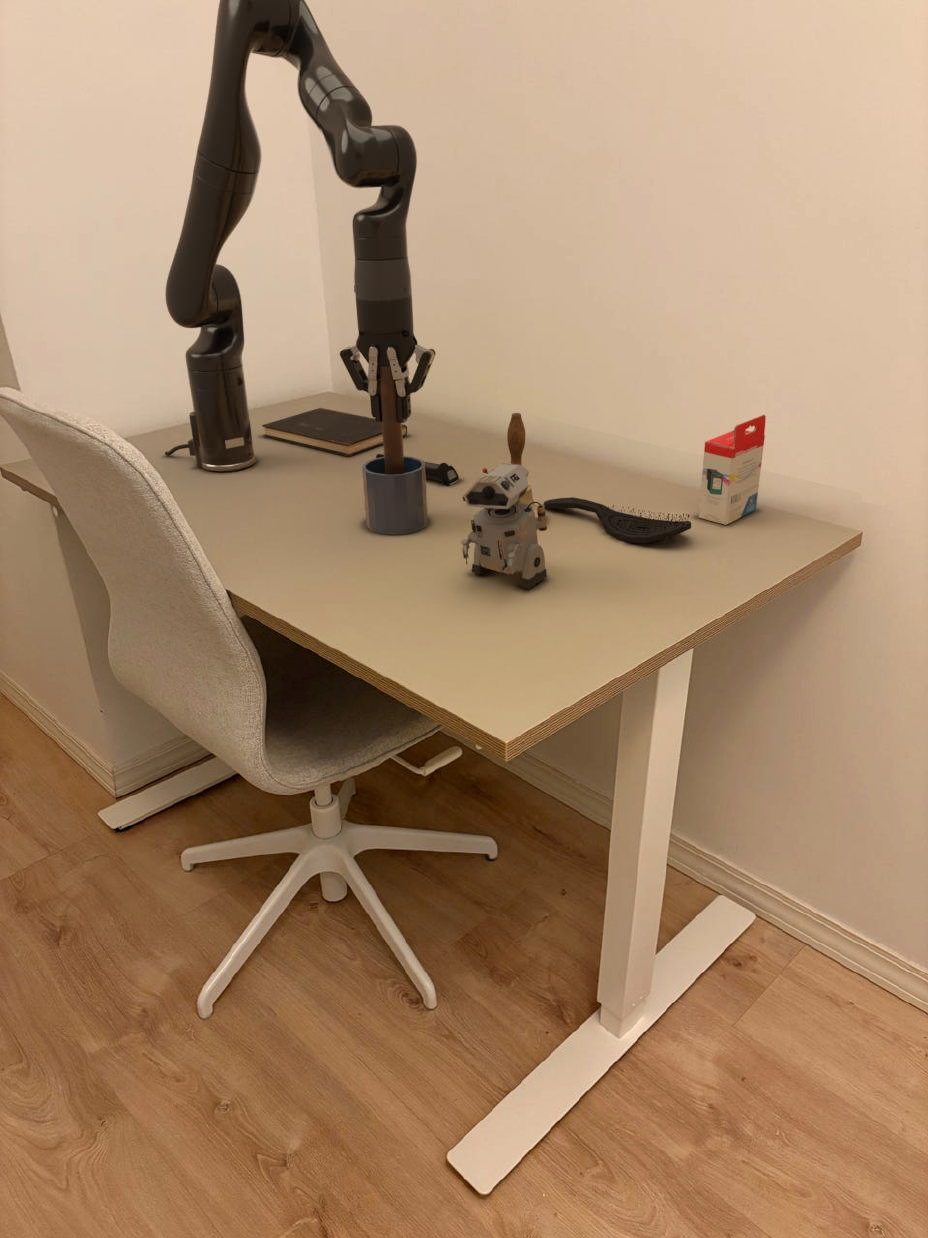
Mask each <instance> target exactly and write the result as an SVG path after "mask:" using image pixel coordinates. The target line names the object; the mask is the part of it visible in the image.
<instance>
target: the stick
mask: <svg viewBox="0 0 928 1238" xmlns="http://www.w3.org/2000/svg"><path fill="white" fill-rule="evenodd" d="M378 373H379V388H380V403H381V417H382V432H383V445H382V446H383V447H382V448H383V455H384V461H385V474H402V473H405V470H404V456H405V455H404V453H405V452H404V437H403V436H402V424H403V423H399V422H398V411H397V397H398V396H399V395H398V393H397V389H396V384H395V381H394V380H393V376H392V371H391V366H383V365H380V366H379V371H378Z"/></svg>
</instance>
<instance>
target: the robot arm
mask: <svg viewBox="0 0 928 1238" xmlns="http://www.w3.org/2000/svg"><path fill="white" fill-rule="evenodd" d="M215 24H216V25H215V34H214V42H213V52H212V53H213V54H212V64H211V73H210V80H209V87H208V93H207V100H206V105H205V111H204V116H203V121H202V127H201V131H200V136H199V139H198V140H199V141H198V144H197V149H196V153H195V160H194V165H193V171H192V177H191V183H190V184H191V185H190V190H189V195H188V199H187V203H186V209H185V213H184V218H183V222H182V227H181V232H180V234H179V239H178V242H177V245H176V249H175V252H174V255H173V258H172V262H171V264H170V268H169V271H168V274H167V278H166V284H165V294H164V295H165V296H164V297H165V298H164V299H165V305H166V308H167V312H168V314H169V316H170V318H171V319H172V321H174V323H175V324H177V325H178V326H179V327H182V328H185V329H200V330H199V334H198V337H197V339H196V340H194V342H193V343H192V344H191V345H190V346H189V347H188V348H187V350H186V352H185V354H184V355H185V357H184V358H185V364H186V365H185V366H186V369H187V370H186V371H187V377H188V384H189V389H190V396H191V397H190V398H191V403H192V410H193V411H192V412H190V413H189V417H188V418H189V424H190V430H191V437H192V438H191V439H190V440H188V441H187V443H184V444H179V445H176V446H174V447H172V448H171V449H170V450H168V451H167V450H166V451H165V452H164V455H165V456H166V457H167V456H172V455H173V454H174V453H176V452H177V451H180V450H183V449H188V451H189V456H191V457H195V462H196V467H197V468H202V469H204V470H206V471H211V472H233V471H239V470H244V469H247V468H249V467H251V466H253V465H254V464H255V463H256V455H255V450H254V442H253V435H252V427H251V425H252V424H251V419H250V410H249V402H248V396H247V388H246V386H247V385H246V379H245V371H244V364H243V352H244V348H245V327H244V315H243V301H242V295H241V292H240V291H241V290H240V287H239V284H238V281H237V279H236V278H235V276H234V274H233V273H232V272H231V271H230V269H228V268H227V266H224V265H222V264H218V263H217V262H218V259H219V256H220V254H221V251H222V249H223V247H224V245H225V244H226V242H227V240H228V239H229V237H230V236H231V234H233V232H234V230H235V229H236V228H237V226H238V225H239V224H240V222H241V221H242V219H243V218H244V216H245V214H246V213H247V211H248V209H249V208H250V205H251V203H252V201H253V198H254V194H255V191H256V187H257V182H258V178H259V174H260V170H261V165H262V155H263V154H262V145H261V142H260V138H259V134H258V131H257V129H256V125H255V122H254V119H253V116H252V113H251V109H250V107H249V103H248V98H247V90H246V88H247V87H246V86H247V85H246V84H247V70H248V65H249V60H250V56H251V54H254V55H259V56H264V57H268V58H274V59H283V60H285V61H286V62H287V63H288V64H290V65H291V66H292V67H293V68H294V69H296V71H297V72H298V73H297V81H296V88H297V95H298V98H299V101H300V104H301V106H302V108H303V110H304V112H305V113H306V115H307V116H308V118H310V120H311V121H312V123H313V124H314V125H315V127H316V128H317V130H318V131H319V132H320V133H321V134H322V136H323V139H324V141H325V144H326V149H327V150H328V153H329V156H330V159H331V164H332V168H333V170H334V173H335V175H336V176H337V178H338V179H339V180H340V181H341V182H342V183H344V185H346V186H349V187H350V188H354V189H369V188H370V189H372V188H380V189H379V193H378V196H377V198H376V201H375V202H374V203H373V204H372V205H370V206H368V207H365V208H361V209H360V210H357V211H356V212H355V213H354V214H353V217H352V221H351V227H352V242H353V255H354V269H353V280H354V281H353V282H354V285H353V291H354V294H355V295H354V296H355V309H356V322H357V330H358V336H357V339H356V341H355V344H354V345H351V346H347V347H345V348H343V349H342V350H340V351H339V357H340V359H341V361H342V363H343V364H344V367H345V368H346V370H347V372H348V374H349V377H350V379H351V381H352V382H353V384H354V387H355V389H356V390H357V391H360V392H361V391H363V392H366V393H367V394H368V395H369V399H370V400H369V401H370V413H371V416H372V418H374V419H375V420H376V422H382V417H381V403H380V388H379V373H378V371H379V366H380V365H383V366H391V371H392V376H393V380H394V381H395V384H396V389H397V393H398V395H399V396H398V397H397V411H398V422H399V423H402V424H404V423H406V422H407V421H408V419H409V418H410V417H411V415H412V402H411V394H415V393H417V392H418V391H420V390H421V389H422V388H423V387H424V384H425V382H426V380H427V377H428V374H429V372H430V369H431V367H432V365H433V362H434V359H435V357H436V353H437V352H436V351H435V349H434V348H428V349H427V348H425V347H424V346H422V345H420V344H419V343H418V340H417V337H416V336H415V333H414V312H413V311H414V309H413V291H412V274H411V267H410V261H409V257H408V256H409V254H408V252H409V251H408V235H407V234H408V231H407V222H408V217H409V211H410V205H411V201H412V200H411V199H412V194H413V189H414V184H415V180H416V174H417V167H418V153H417V149H416V144H415V142H414V139H413V137H412V135H411V134H410V133H409V131H408V130H407V129H406V128H404V127H403V126H401V125H395V124H383V125H382V124H381V125H373V112H372V109H371V106H370V104H369V103H368V101H367V99H366V98H365V97H364V95H363V94H362V93H361V91H360V90H359V89H358V88H357V86H356V85H355V84H354V82H352V80H351V79H350V78H349V76H348V75H347V74H346V73H345V71H344V70H343V69H342V68H341V66H340V65H339V63H338V61H337V60H336V59H335V57H334V55H333V53H332V51H331V50H330V47H329V45H328V43H327V42H326V39H325V37H324V35H323V33H322V31H321V30H320V27H319V26H318V24H317V21H316V20H315V17H314V15H313V13H312V11H311V9H310V7H309V5H308V4H307V2H306V0H219V3H218V9H217V16H216V23H215ZM414 354H415V362H416V363H417V366H416V369H415V372H414V374H413V377H412V379H411V380H410V369H409V365H408V363H409V361H410V359H411V358H412V357H413V356H414ZM361 355H362V357H363V358H364V360H365V361H366V362H367V364H368V370H367V372H366V371H365V369H364V367H363V365H362V363H361V361H360V359H361Z"/></svg>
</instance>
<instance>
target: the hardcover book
mask: <svg viewBox="0 0 928 1238" xmlns="http://www.w3.org/2000/svg"><path fill="white" fill-rule="evenodd" d="M261 427H262V428H264V432H265V434H263V435H262V437H264V438H268V439H272V440H275V441H281V442H285V443H289V444H292V445H297V446H300V447H301V446H302V447H306V448H310V449H314V450H319V451H323V452H328V453H330V454H331V453H332V454H336V455H339V456H344V457H348V458H350V457H352V456H355V455H357V454H360V453H363V452H366V451H369V450H372V449H375V448H377V447H380V446H383V432H382V422H376V420H375V417H369V416H364V415H359V414H353V413H350V412H343V411H339V410H333V409H330V408H329V409H328V408H323V407H318V408H314V409H312V410H309V411H308V410H307V411H304V412H301V413H298V414H293V415H291V416H288V417H284V418H281V419H278V420H274V421H271V422H268V423H264V424H262V425H261ZM407 434H408V426H407V425H406V424H404V423H402V436H403V438H405V437H407Z"/></svg>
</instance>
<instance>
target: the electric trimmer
mask: <svg viewBox="0 0 928 1238" xmlns="http://www.w3.org/2000/svg"><path fill="white" fill-rule="evenodd" d="M381 457H384V453H383V454H381V453H377V454H376V455H375V459H376V458H381ZM422 461H423V462H425V475H426V479H430V480H433V481H439V482H441V483H442V485H445V486H447V485H449V486H452V485H454V484H455V483H458V482H459V473H458V472H457V470H456V469H455V467H454V466H452V465H449V464H448V463H446V462H441V463H440V464H439V463H434V462H429V461H425V460H422Z"/></svg>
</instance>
